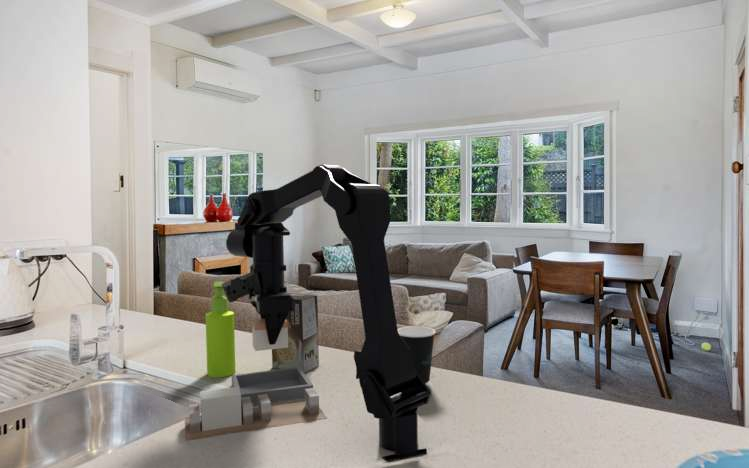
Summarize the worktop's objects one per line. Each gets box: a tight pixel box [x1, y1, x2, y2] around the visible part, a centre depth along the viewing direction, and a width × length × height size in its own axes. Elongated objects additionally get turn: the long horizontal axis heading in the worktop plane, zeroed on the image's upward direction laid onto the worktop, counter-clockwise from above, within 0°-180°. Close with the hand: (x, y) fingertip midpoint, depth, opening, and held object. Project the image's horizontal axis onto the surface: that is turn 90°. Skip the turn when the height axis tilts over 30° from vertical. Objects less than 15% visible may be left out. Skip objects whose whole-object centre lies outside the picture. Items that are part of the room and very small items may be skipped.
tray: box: [231, 367, 314, 406], centre depth 99 cm, size 12×14×3 cm
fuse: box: [200, 386, 242, 431], centre depth 84 cm, size 4×6×5 cm, turn 110°
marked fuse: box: [251, 318, 288, 352], centre depth 98 cm, size 4×6×5 cm, turn 110°
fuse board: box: [184, 387, 328, 442], centre depth 86 cm, size 9×22×4 cm, turn 110°
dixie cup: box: [397, 325, 436, 387], centre depth 104 cm, size 8×8×11 cm
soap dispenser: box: [205, 281, 236, 379], centre depth 112 cm, size 6×7×20 cm
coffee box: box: [271, 292, 320, 373], centre depth 116 cm, size 9×6×16 cm
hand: (270, 341), depth 98 cm, fingers closed on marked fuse, 4 cm apart
